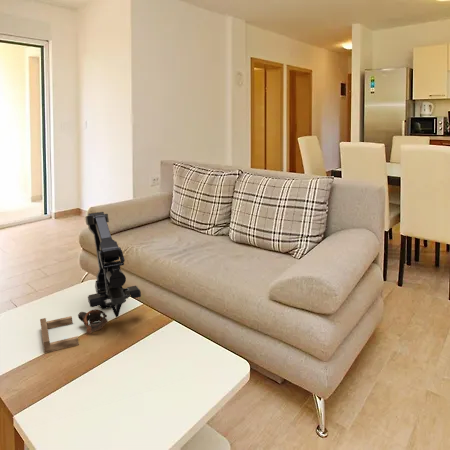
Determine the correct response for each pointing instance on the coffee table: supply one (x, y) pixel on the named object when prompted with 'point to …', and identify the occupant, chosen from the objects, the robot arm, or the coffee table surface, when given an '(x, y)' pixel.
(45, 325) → the walnut guide channel
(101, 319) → the pottery mug
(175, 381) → the coffee table surface
